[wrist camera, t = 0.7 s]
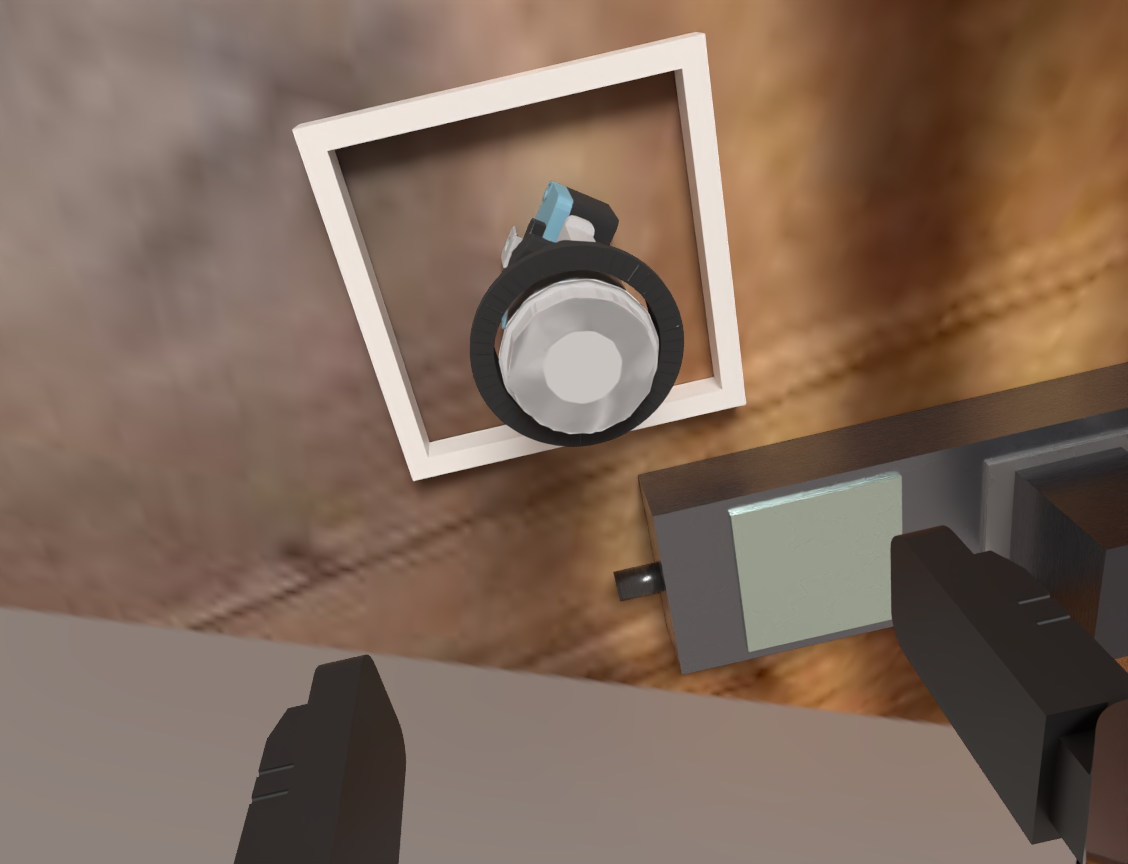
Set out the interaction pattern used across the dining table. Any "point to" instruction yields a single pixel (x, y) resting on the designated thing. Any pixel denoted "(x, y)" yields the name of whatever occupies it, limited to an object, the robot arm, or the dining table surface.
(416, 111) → the empty frame
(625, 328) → the push button
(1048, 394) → the power strip
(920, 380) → the dining table surface
